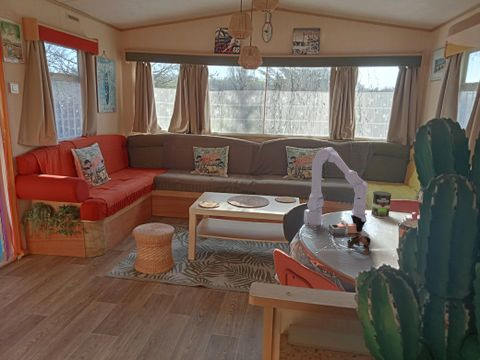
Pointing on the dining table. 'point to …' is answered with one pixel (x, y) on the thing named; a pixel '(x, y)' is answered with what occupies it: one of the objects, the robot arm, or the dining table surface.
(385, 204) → the coffee can
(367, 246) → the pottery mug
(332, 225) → the dispenser
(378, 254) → the dining table surface
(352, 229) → the copper rectangular block
